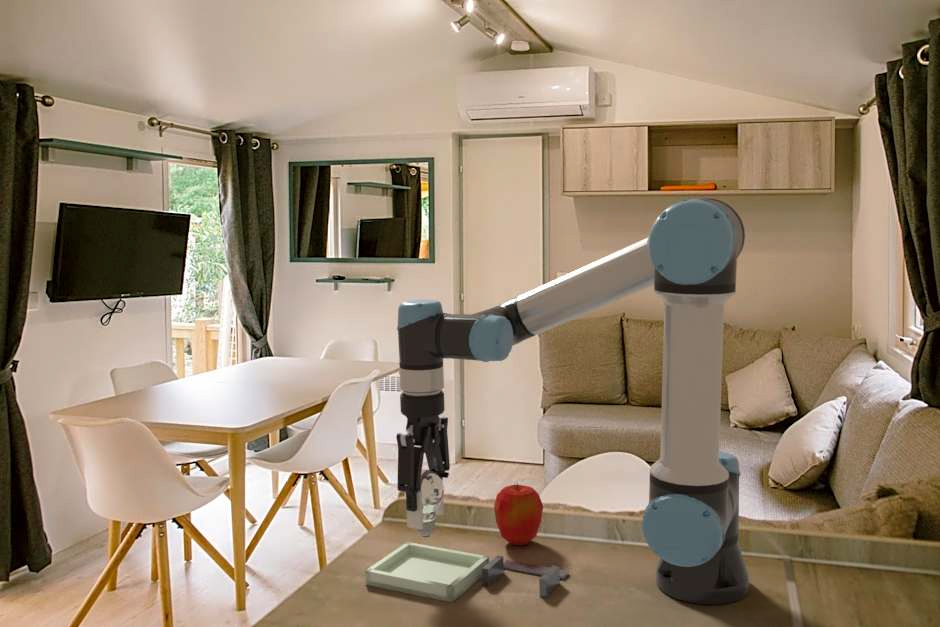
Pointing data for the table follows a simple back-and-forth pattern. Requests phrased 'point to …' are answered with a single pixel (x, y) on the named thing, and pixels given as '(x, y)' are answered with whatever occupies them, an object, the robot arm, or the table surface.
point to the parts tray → (427, 571)
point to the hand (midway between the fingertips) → (425, 520)
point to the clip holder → (546, 582)
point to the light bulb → (430, 500)
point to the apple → (518, 513)
